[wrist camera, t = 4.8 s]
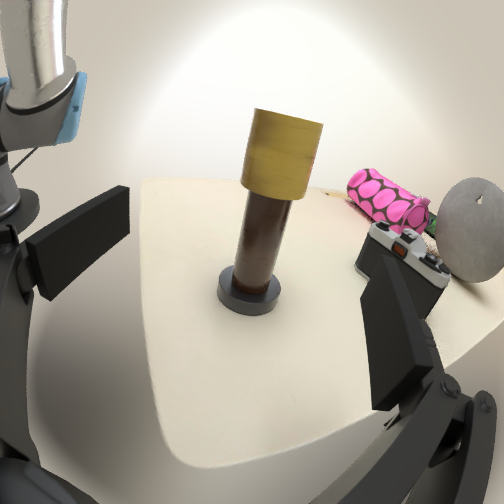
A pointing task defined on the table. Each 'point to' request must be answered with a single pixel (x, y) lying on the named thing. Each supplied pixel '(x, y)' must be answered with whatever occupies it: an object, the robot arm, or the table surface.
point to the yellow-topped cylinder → (268, 205)
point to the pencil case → (389, 202)
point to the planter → (472, 230)
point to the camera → (406, 264)
